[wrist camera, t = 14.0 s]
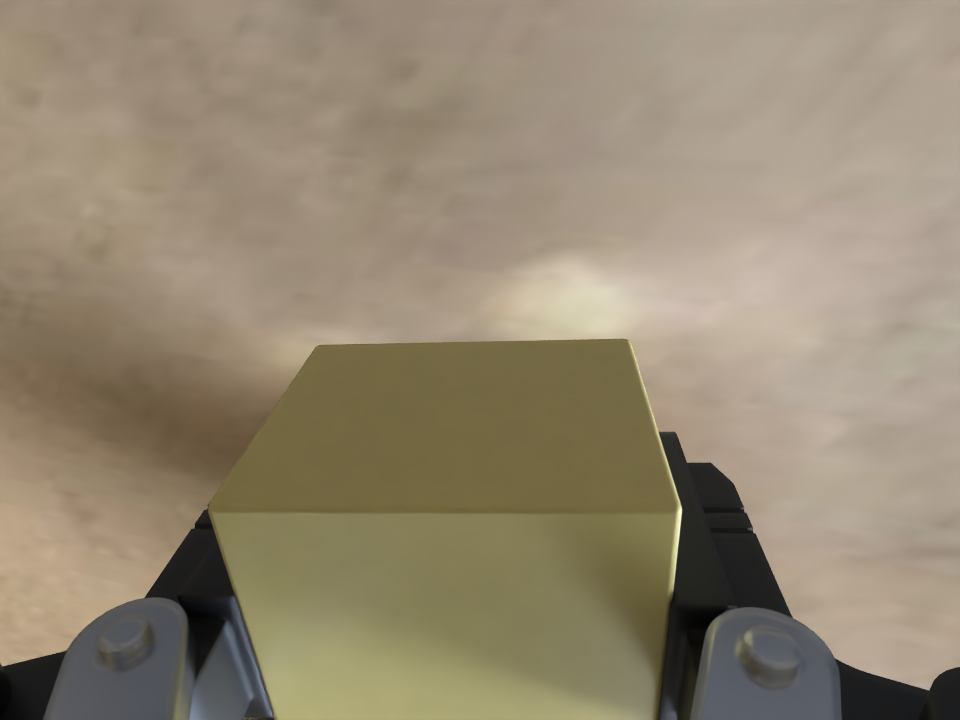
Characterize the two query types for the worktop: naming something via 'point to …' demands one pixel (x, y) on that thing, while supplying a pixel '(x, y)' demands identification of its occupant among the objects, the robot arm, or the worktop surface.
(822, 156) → the worktop surface
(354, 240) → the worktop surface
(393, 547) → the butter
